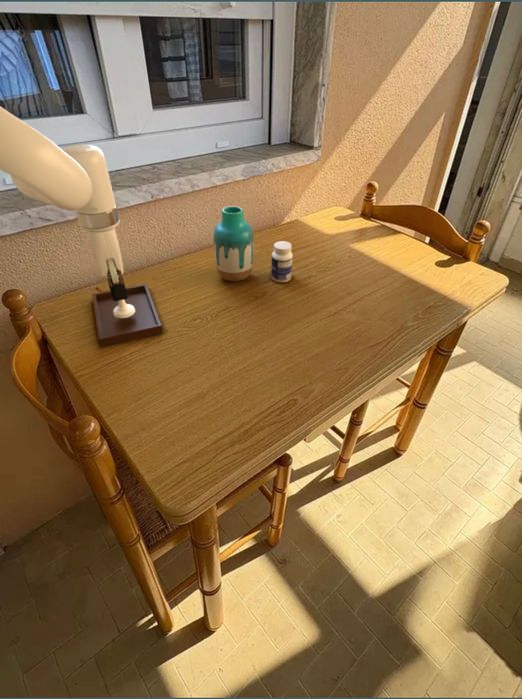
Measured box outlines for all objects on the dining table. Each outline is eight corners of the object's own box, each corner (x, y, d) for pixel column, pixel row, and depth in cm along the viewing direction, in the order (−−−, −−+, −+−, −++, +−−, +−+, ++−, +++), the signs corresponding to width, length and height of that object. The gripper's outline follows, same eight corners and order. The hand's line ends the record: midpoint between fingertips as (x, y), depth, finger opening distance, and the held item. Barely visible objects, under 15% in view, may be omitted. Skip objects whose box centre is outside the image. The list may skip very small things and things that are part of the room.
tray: (101, 346, 83) (98, 339, 82) (94, 300, 97) (91, 293, 96) (163, 332, 87) (161, 325, 86) (148, 290, 101) (146, 283, 100)
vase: (216, 288, 102) (211, 218, 90) (215, 269, 110) (210, 202, 98) (255, 286, 103) (256, 217, 91) (251, 267, 111) (251, 201, 99)
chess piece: (109, 311, 90) (98, 273, 83) (129, 303, 92) (119, 266, 86) (119, 320, 87) (108, 282, 80) (139, 312, 89) (130, 274, 83)
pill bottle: (269, 273, 109) (270, 240, 102) (289, 272, 109) (291, 239, 103) (272, 283, 105) (273, 250, 98) (292, 282, 105) (295, 249, 99)
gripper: (75, 205, 79) (99, 282, 91) (80, 235, 68) (106, 319, 80) (113, 200, 81) (131, 276, 93) (123, 229, 70) (142, 311, 82)
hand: (119, 295), depth 87 cm, fingers closed on chess piece
